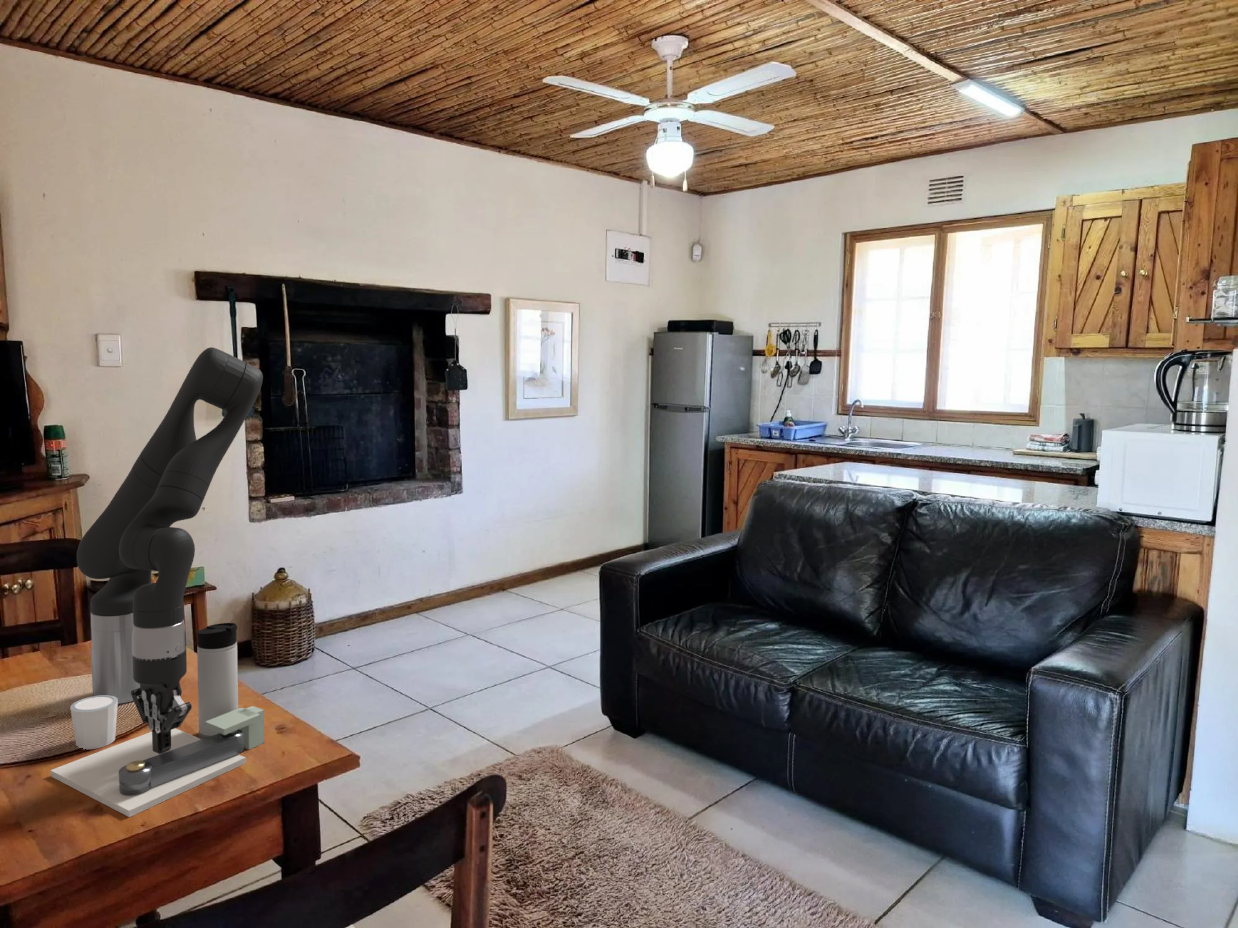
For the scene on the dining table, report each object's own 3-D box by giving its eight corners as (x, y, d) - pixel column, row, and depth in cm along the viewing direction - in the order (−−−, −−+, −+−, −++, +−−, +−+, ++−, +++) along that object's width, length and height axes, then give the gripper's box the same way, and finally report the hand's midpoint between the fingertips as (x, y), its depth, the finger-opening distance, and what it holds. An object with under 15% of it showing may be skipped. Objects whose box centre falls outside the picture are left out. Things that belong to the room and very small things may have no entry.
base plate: (50, 776, 127) (50, 770, 127) (168, 730, 143) (168, 725, 143) (129, 817, 117) (129, 810, 117) (245, 763, 133) (245, 757, 133)
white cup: (113, 728, 143) (112, 691, 142) (124, 742, 138) (122, 703, 137) (67, 740, 138) (66, 701, 137) (76, 755, 134) (75, 714, 133)
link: (127, 798, 119) (126, 774, 119) (113, 788, 122) (113, 765, 121) (249, 751, 135) (248, 730, 134) (234, 743, 137) (234, 722, 137)
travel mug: (224, 744, 139) (222, 632, 137) (190, 739, 140) (188, 628, 138) (247, 728, 145) (246, 621, 143) (215, 723, 147) (213, 617, 144)
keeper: (205, 755, 135) (205, 721, 134) (249, 736, 142) (248, 704, 142) (224, 763, 133) (224, 729, 132) (268, 744, 140) (267, 711, 139)
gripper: (111, 646, 129) (114, 748, 131) (161, 665, 123) (164, 772, 125) (157, 633, 136) (159, 731, 138) (207, 650, 129) (209, 752, 132)
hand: (162, 750), depth 132 cm, fingers closed
